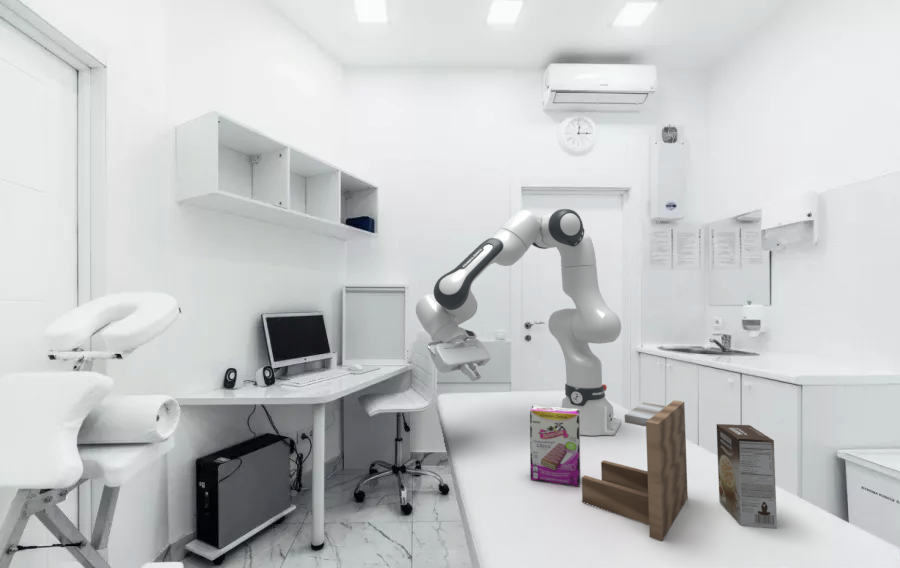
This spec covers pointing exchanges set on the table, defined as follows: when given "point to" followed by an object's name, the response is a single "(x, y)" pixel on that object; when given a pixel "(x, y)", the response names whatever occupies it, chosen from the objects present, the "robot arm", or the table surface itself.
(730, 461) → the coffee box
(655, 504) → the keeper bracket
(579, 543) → the table surface
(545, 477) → the candy bar box
